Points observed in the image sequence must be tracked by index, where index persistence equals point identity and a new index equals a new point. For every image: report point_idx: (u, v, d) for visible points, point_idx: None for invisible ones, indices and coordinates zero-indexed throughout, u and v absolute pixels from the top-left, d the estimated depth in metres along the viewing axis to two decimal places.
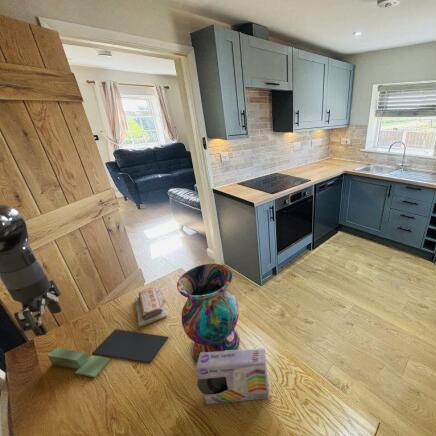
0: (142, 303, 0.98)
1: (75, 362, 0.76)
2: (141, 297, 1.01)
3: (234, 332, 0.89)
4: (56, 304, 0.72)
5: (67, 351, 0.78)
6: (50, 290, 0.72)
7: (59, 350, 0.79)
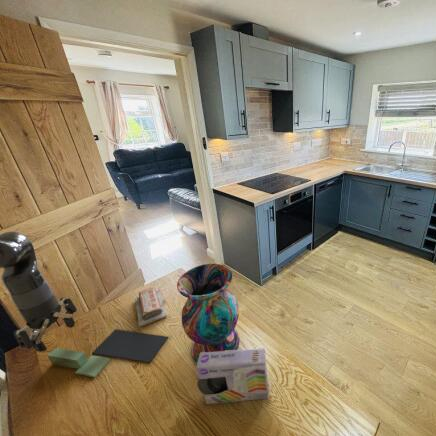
0: (142, 303, 0.98)
1: (75, 362, 0.76)
2: (141, 297, 1.01)
3: (234, 332, 0.89)
4: (68, 320, 0.77)
5: (67, 351, 0.78)
6: (67, 306, 0.77)
7: (59, 350, 0.79)
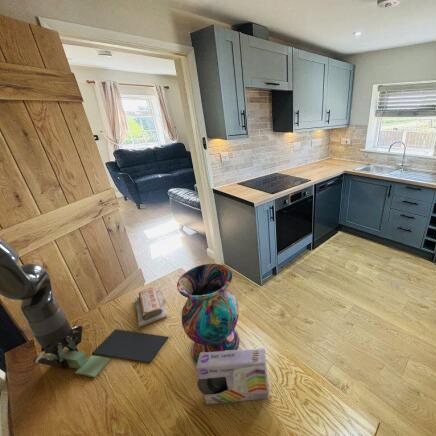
0: (142, 303, 0.98)
1: (75, 362, 0.76)
2: (141, 297, 1.01)
3: (234, 332, 0.89)
4: None
5: (67, 351, 0.78)
6: (75, 335, 0.80)
7: None
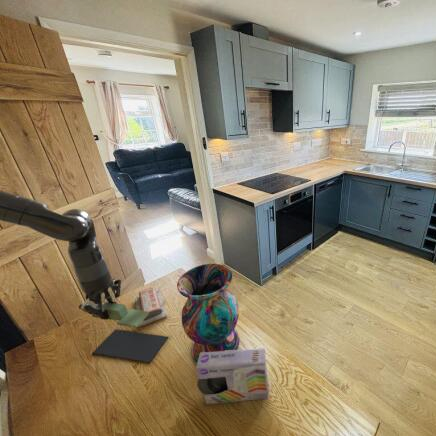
0: (142, 303, 0.98)
1: (116, 313, 0.77)
2: (141, 297, 1.01)
3: (234, 332, 0.89)
4: None
5: (107, 303, 0.79)
6: (114, 288, 0.81)
7: None
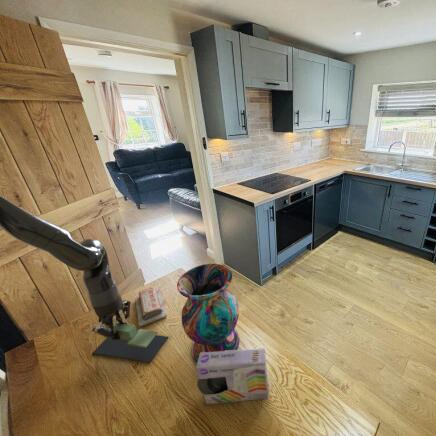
0: (142, 303, 0.98)
1: (126, 334, 0.81)
2: (141, 297, 1.01)
3: (234, 332, 0.89)
4: None
5: (118, 324, 0.83)
6: (124, 309, 0.85)
7: None
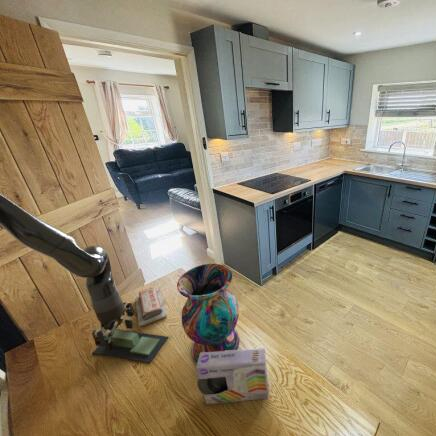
0: (142, 303, 0.98)
1: (129, 342, 0.83)
2: (141, 297, 1.01)
3: (234, 332, 0.89)
4: (129, 322, 0.87)
5: (121, 332, 0.85)
6: (128, 310, 0.87)
7: None
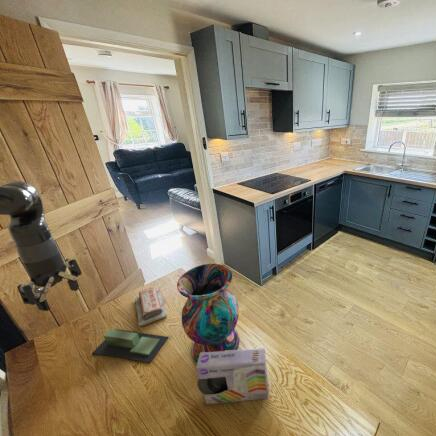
0: (142, 303, 0.98)
1: (129, 342, 0.83)
2: (141, 297, 1.01)
3: (234, 332, 0.89)
4: (73, 283, 0.74)
5: (121, 332, 0.85)
6: (72, 268, 0.74)
7: (113, 331, 0.85)
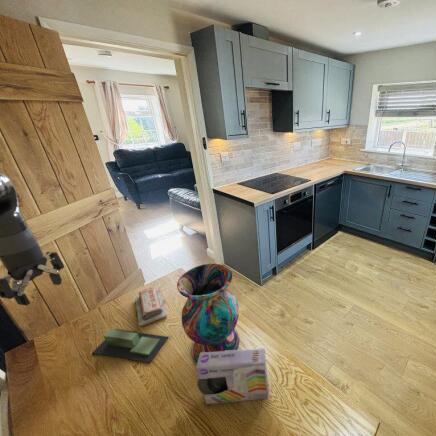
0: (142, 303, 0.98)
1: (129, 342, 0.83)
2: (141, 297, 1.01)
3: (234, 332, 0.89)
4: (55, 276, 0.72)
5: (121, 332, 0.85)
6: (53, 261, 0.72)
7: (113, 331, 0.85)
